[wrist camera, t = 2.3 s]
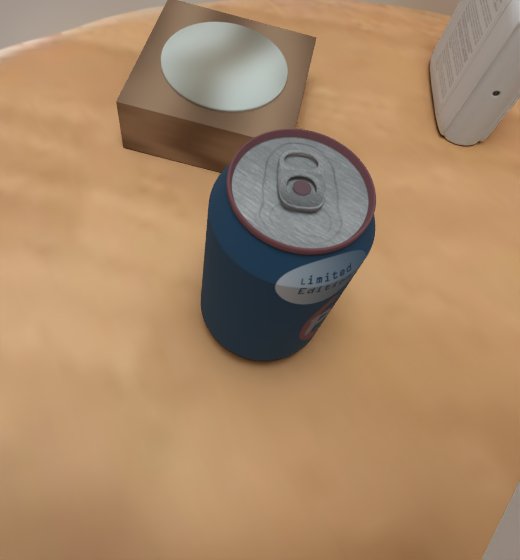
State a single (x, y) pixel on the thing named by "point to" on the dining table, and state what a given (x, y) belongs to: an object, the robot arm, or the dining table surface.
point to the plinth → (211, 85)
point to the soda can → (283, 240)
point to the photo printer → (476, 69)
